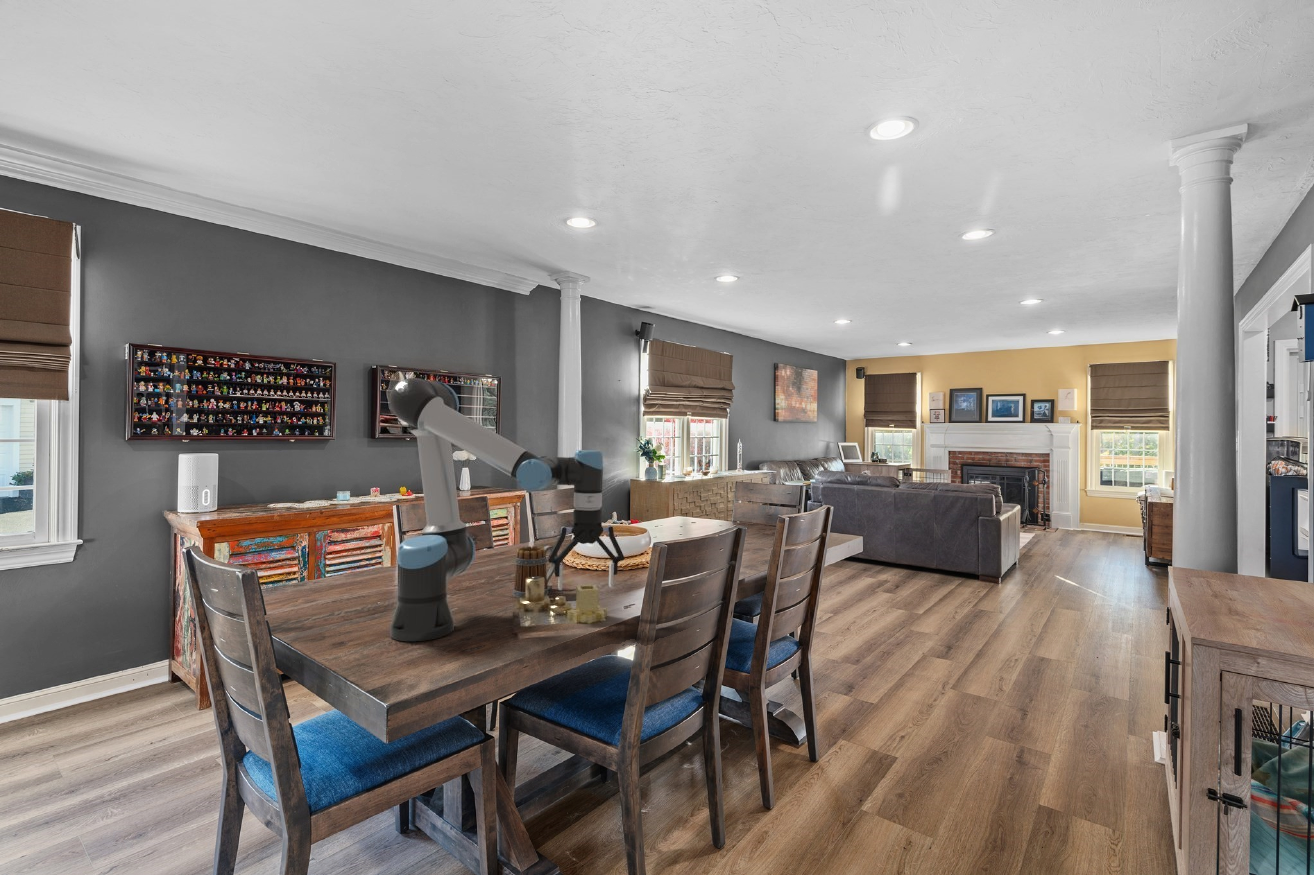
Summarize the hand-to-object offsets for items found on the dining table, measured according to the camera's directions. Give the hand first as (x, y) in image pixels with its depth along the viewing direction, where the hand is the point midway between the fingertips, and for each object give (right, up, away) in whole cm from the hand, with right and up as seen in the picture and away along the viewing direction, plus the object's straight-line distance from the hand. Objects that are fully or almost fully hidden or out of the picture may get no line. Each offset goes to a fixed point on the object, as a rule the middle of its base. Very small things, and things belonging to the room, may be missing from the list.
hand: (585, 587), depth 164 cm
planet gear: (0, -8, 0) cm, 8 cm away
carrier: (-8, -9, +5) cm, 13 cm away
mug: (-18, -9, +25) cm, 32 cm away
